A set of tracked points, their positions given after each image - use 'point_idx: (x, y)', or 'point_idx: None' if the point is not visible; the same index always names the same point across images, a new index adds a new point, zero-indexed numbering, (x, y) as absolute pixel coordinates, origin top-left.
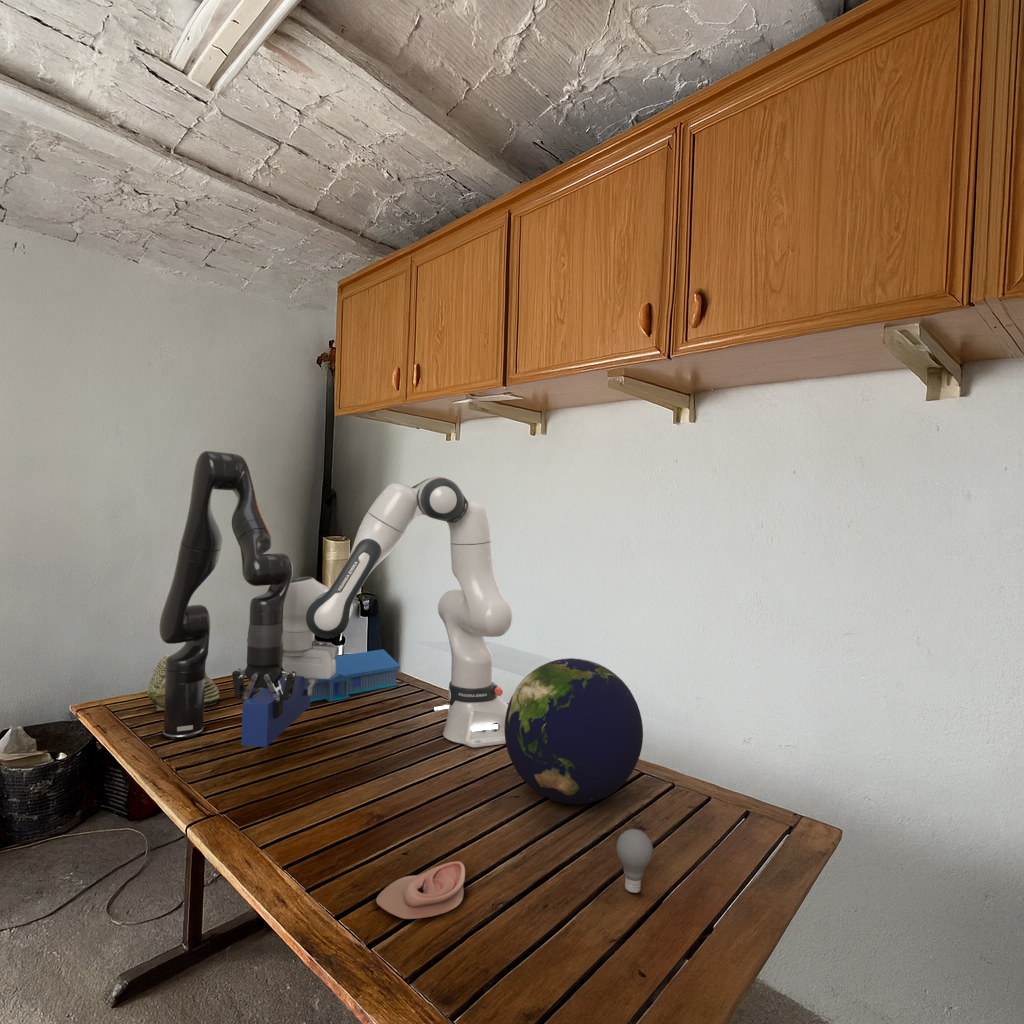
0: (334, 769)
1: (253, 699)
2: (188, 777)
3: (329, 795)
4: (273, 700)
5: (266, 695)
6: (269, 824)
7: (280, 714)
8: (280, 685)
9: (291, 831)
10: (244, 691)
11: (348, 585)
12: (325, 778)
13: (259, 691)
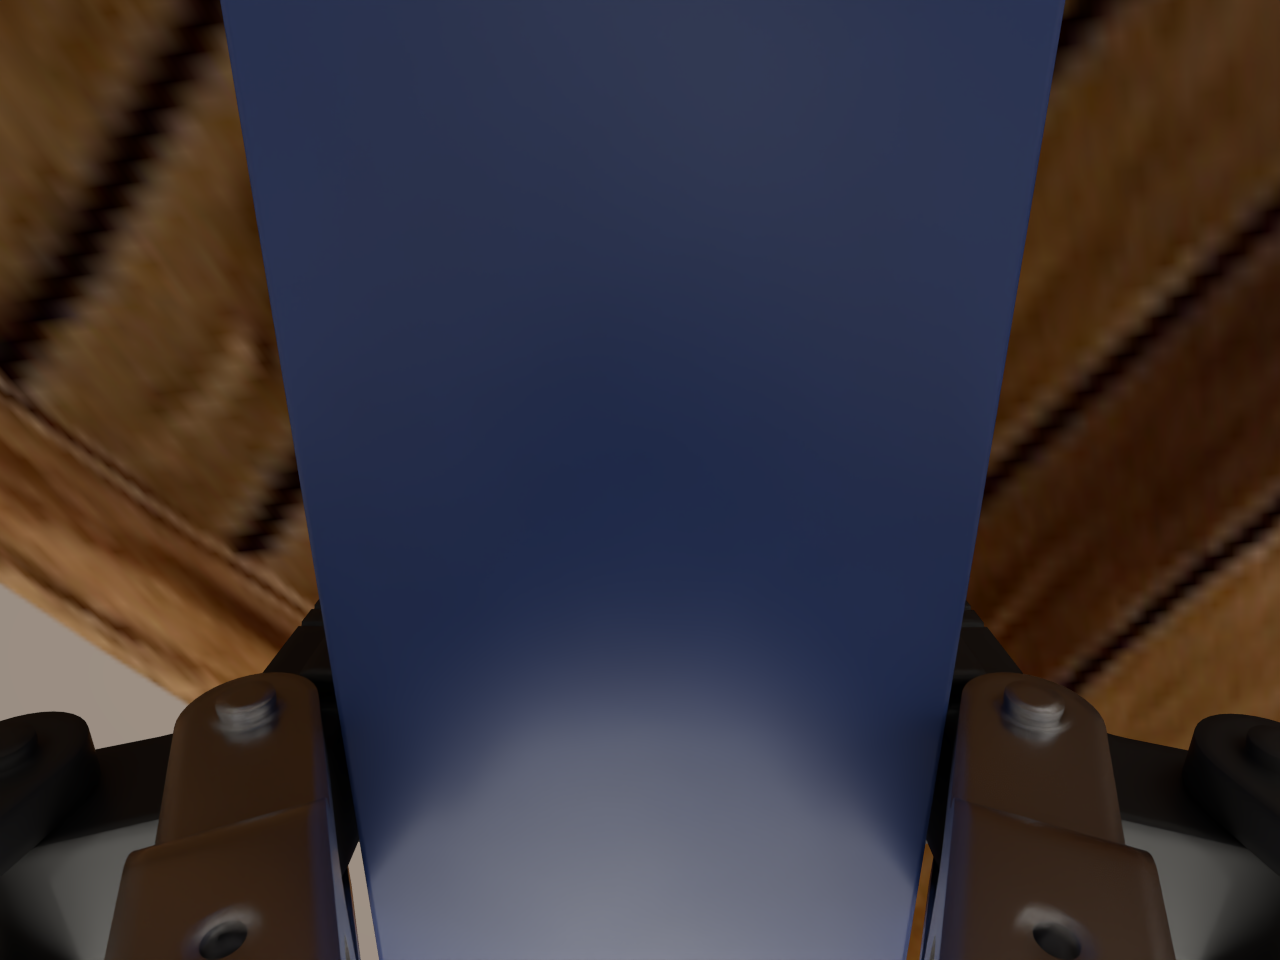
0: (1175, 209)
1: (493, 939)
2: (177, 476)
3: (1169, 601)
4: (910, 909)
5: (647, 688)
6: None
7: None
8: (1156, 923)
9: None
10: (92, 860)
11: None
12: (1119, 376)
13: (306, 420)
